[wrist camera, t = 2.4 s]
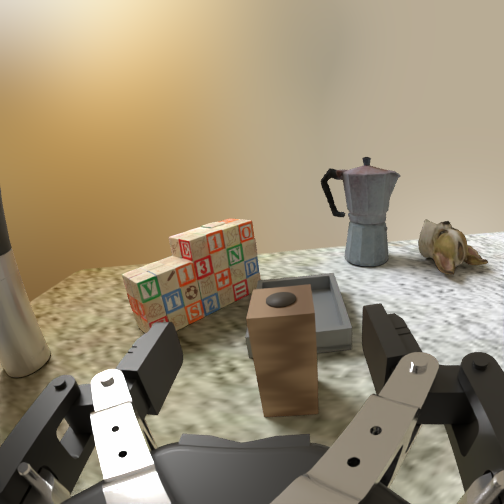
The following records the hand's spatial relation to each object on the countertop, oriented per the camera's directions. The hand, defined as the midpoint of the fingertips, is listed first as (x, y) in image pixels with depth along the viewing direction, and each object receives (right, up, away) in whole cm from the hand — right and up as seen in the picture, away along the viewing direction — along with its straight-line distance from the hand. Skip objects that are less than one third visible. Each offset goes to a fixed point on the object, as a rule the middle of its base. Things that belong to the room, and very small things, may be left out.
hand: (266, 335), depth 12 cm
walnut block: (+3, -11, +15) cm, 19 cm away
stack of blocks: (-9, -6, +37) cm, 39 cm away
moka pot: (+22, +2, +46) cm, 51 cm away
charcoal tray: (+6, -6, +29) cm, 30 cm away
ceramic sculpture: (+36, +1, +37) cm, 51 cm away
